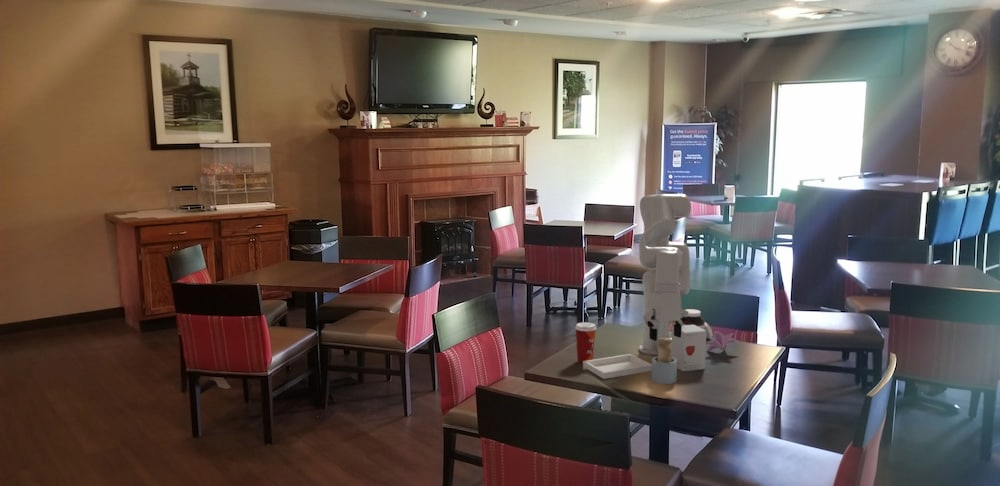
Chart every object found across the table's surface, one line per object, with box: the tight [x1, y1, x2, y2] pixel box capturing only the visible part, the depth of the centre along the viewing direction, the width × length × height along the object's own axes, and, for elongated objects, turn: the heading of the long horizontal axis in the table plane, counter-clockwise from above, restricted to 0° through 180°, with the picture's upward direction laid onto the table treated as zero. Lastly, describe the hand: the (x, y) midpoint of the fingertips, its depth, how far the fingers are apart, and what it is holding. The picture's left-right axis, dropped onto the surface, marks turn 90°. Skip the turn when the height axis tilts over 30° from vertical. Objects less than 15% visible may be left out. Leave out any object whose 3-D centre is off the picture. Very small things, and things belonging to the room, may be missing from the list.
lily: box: [706, 330, 739, 358], centre depth 274 cm, size 12×12×10 cm
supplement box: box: [671, 325, 707, 372], centre depth 258 cm, size 9×9×15 cm
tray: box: [582, 353, 652, 380], centre depth 257 cm, size 20×14×3 cm
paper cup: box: [574, 322, 597, 365], centre depth 266 cm, size 8×8×14 cm
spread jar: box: [683, 308, 714, 340], centre depth 294 cm, size 12×11×12 cm
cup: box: [650, 355, 678, 385], centre depth 245 cm, size 8×8×8 cm
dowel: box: [657, 337, 672, 363], centre depth 244 cm, size 4×4×14 cm
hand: (665, 338), depth 242 cm, fingers open, 9 cm apart
